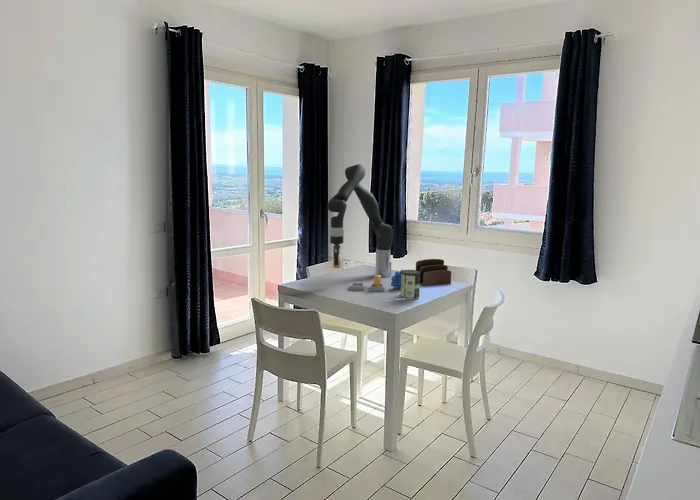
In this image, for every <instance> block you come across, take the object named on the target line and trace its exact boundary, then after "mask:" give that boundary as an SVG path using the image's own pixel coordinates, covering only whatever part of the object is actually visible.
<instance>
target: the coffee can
mask: <svg viewBox="0 0 700 500" xmlns="http://www.w3.org/2000/svg"><path fill="white" fill-rule="evenodd" d="M402 270H403V271H401V270H400V271H401V273H402V276H401V289H400V296H401V297H402V298H403V299H404V298H406V300H415V299H414V298H418V299H419V298H420V287H421V286H420V285H421V284H420V273H421V272H420V271H417V270H416V269H402Z"/></svg>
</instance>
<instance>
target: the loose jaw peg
mask: <svg viewBox="0 0 700 500" xmlns="http://www.w3.org/2000/svg"><path fill="white" fill-rule="evenodd" d="M332 255H333V256H332V268H334V269H340V268H341V253H340V254H339V259H338V266H335V265H334V254H332ZM335 256H337V255H335Z"/></svg>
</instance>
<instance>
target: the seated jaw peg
mask: <svg viewBox="0 0 700 500" xmlns="http://www.w3.org/2000/svg"><path fill="white" fill-rule="evenodd" d="M373 283H374V286H378V287H381V284H382V277H381V275H375V274H374V275H373Z"/></svg>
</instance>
